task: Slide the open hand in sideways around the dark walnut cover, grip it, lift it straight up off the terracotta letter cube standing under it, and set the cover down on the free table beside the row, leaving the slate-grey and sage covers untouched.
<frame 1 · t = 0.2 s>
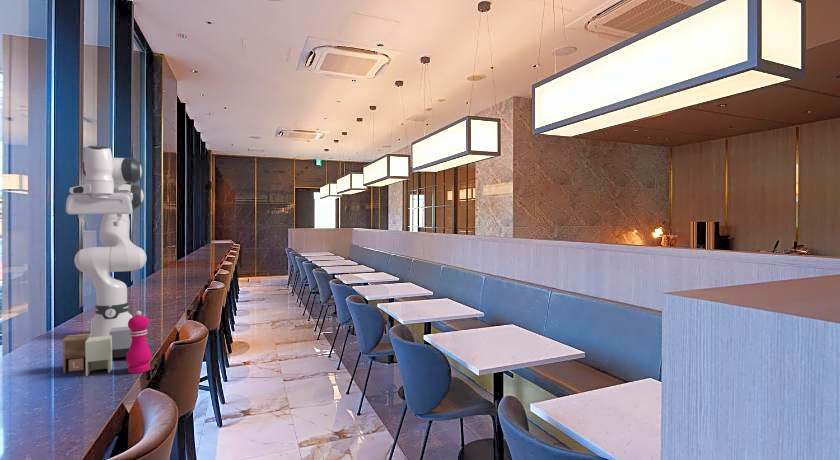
hand: (100, 226, 168), 48 cm above the counter, tool pointing down, fingers open, 8 cm apart
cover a: (77, 368, 152), on the counter
pepper mill: (139, 371, 151), on the counter
cover b: (121, 359, 163), on the counter
cover c: (99, 371, 150), on the counter
letter cube: (77, 369, 152), on the counter
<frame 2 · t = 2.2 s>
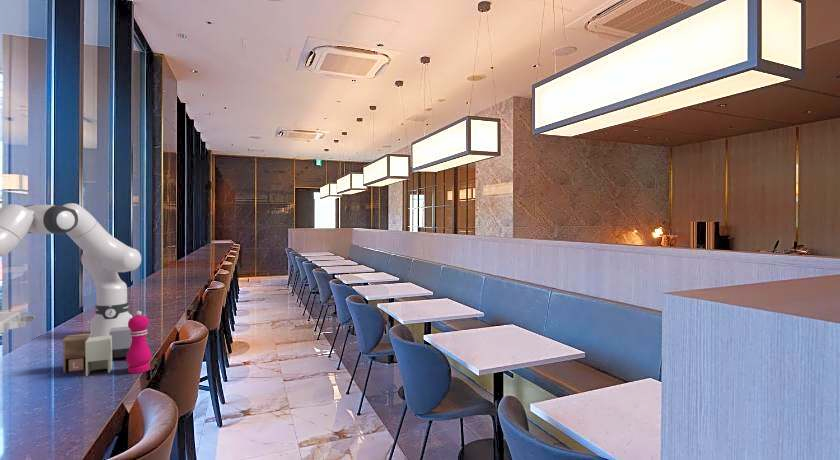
hand: (30, 320, 146), 18 cm above the counter, tool horizontal, fingers open, 8 cm apart
nothing on the counter moved.
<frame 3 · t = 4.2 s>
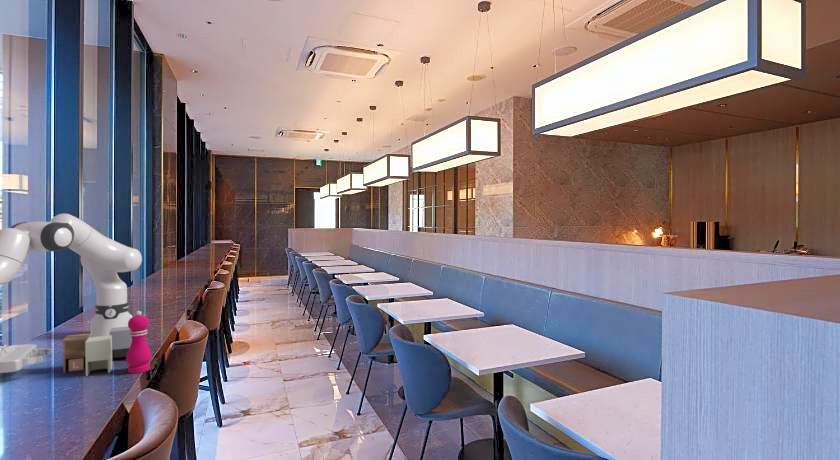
hand: (47, 354, 149), 6 cm above the counter, tool horizontal, fingers open, 8 cm apart
nothing on the counter moved.
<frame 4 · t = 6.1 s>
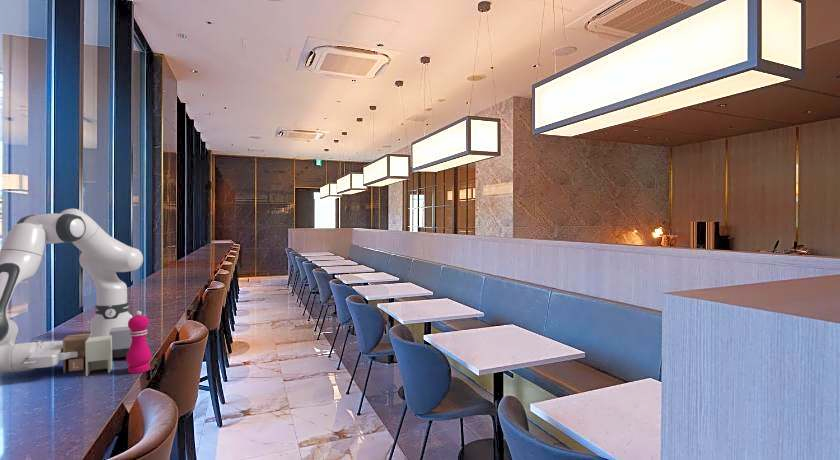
hand: (80, 350, 153), 6 cm above the counter, tool horizontal, fingers closed on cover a, 6 cm apart
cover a: (77, 368, 152), on the counter, touching gripper
everything else where it was.
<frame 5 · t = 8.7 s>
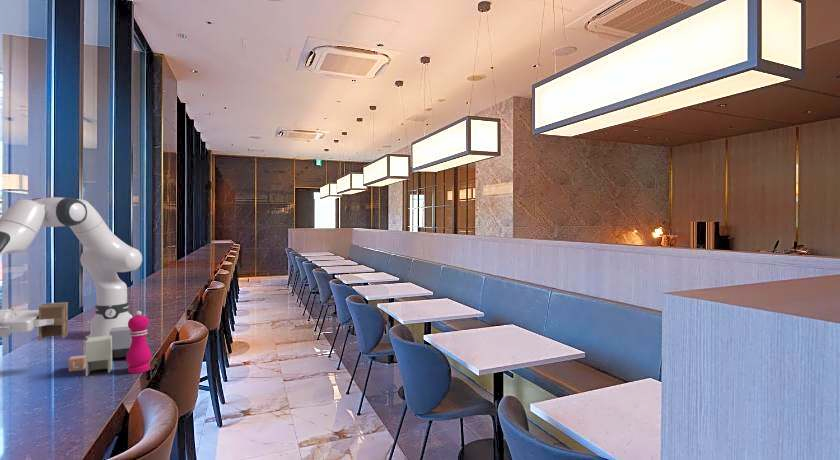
hand: (57, 319, 150), 17 cm above the counter, tool horizontal, fingers closed on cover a, 6 cm apart
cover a: (53, 337, 150), point 11 cm above the counter, touching gripper
everything else where it was.
when the fingers open (7 cm above the counter, at t = 11.5 s): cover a stays where it is, on the counter.
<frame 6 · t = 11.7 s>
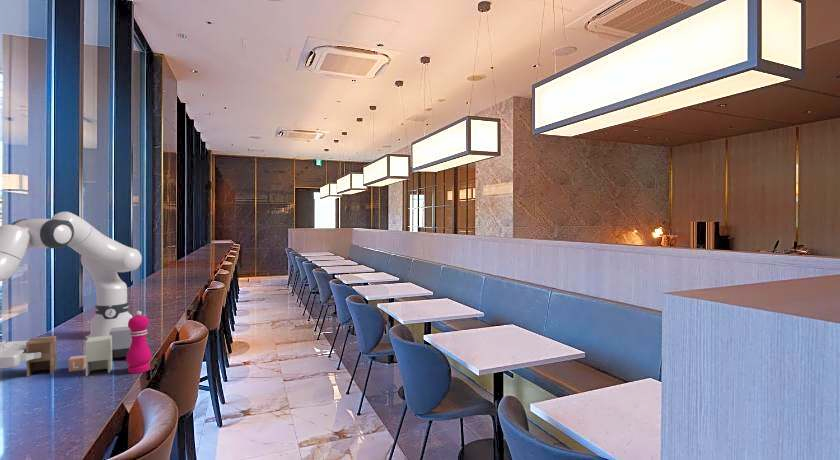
hand: (45, 350, 149), 7 cm above the counter, tool horizontal, fingers open, 8 cm apart
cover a: (42, 372, 149), on the counter
everything else where it was.
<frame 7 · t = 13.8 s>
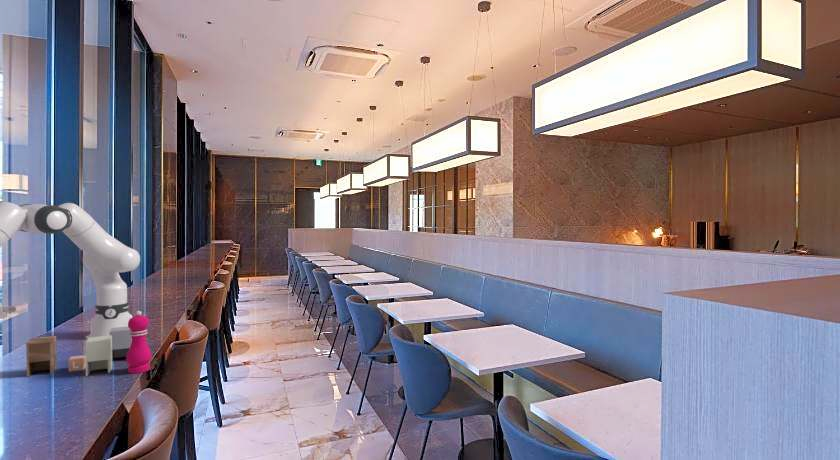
hand: (11, 311, 147), 20 cm above the counter, tool horizontal, fingers open, 8 cm apart
nothing on the counter moved.
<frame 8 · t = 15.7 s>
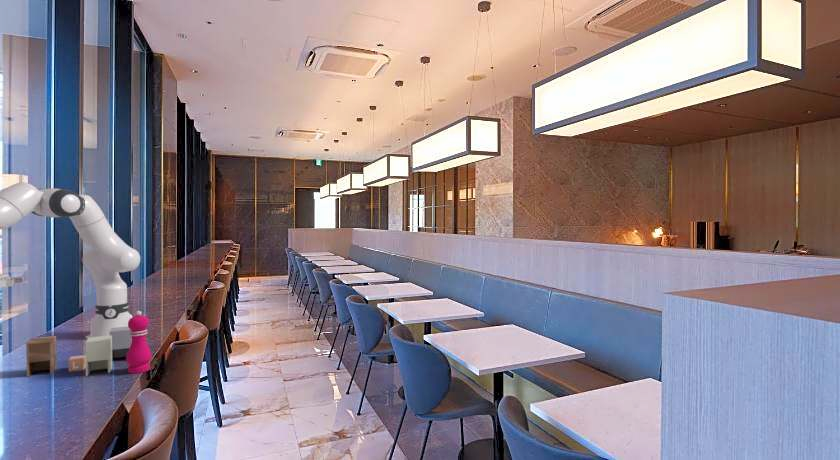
hand: (18, 281, 149), 30 cm above the counter, tool horizontal, fingers open, 8 cm apart
nothing on the counter moved.
at the end: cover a inside the target area (0.5 cm from its centre), on the counter; letter cube moved 0.1 cm from its start; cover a tilted 0° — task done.
